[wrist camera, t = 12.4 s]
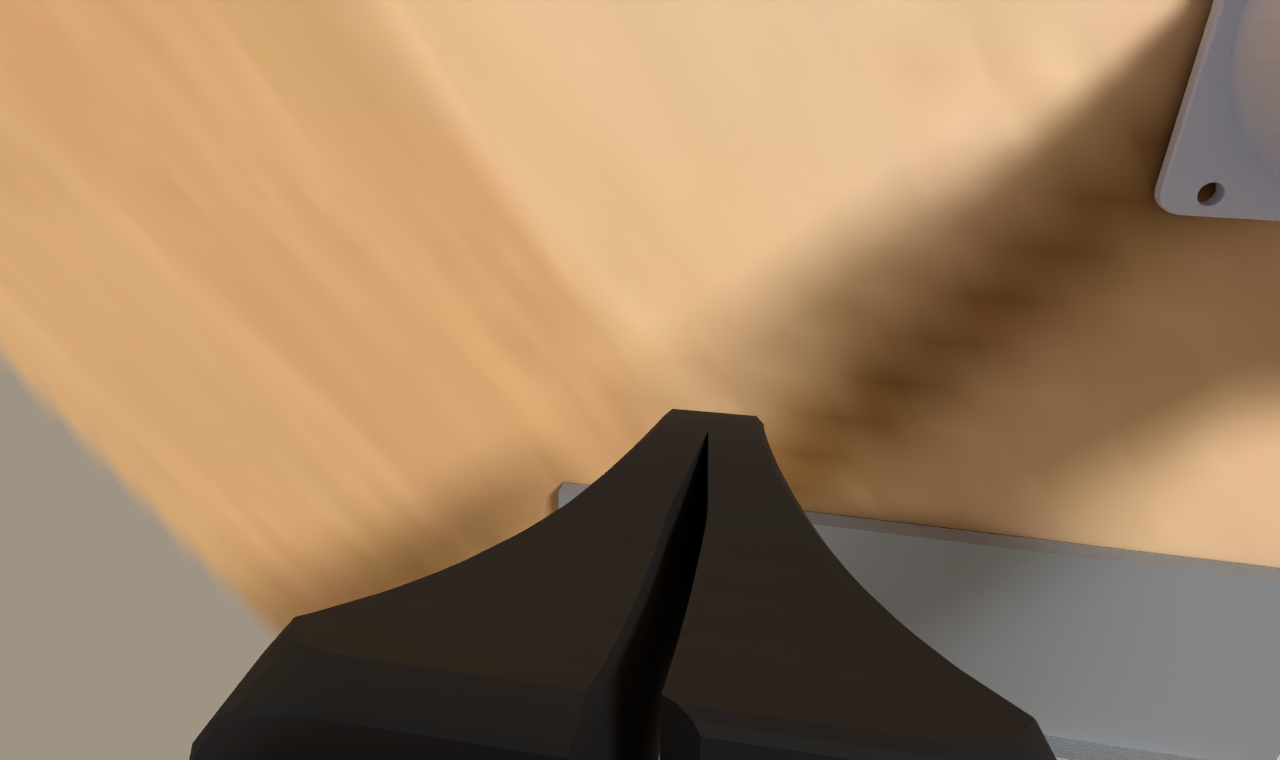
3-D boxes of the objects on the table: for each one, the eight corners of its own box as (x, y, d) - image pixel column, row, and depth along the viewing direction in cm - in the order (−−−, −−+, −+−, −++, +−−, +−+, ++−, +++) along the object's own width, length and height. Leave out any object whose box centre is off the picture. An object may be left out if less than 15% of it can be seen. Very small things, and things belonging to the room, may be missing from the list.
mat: (1355, 577, 21) (1370, 592, 21) (1193, 874, 27) (1201, 892, 26) (563, 482, 24) (557, 493, 24) (570, 765, 30) (566, 779, 30)
